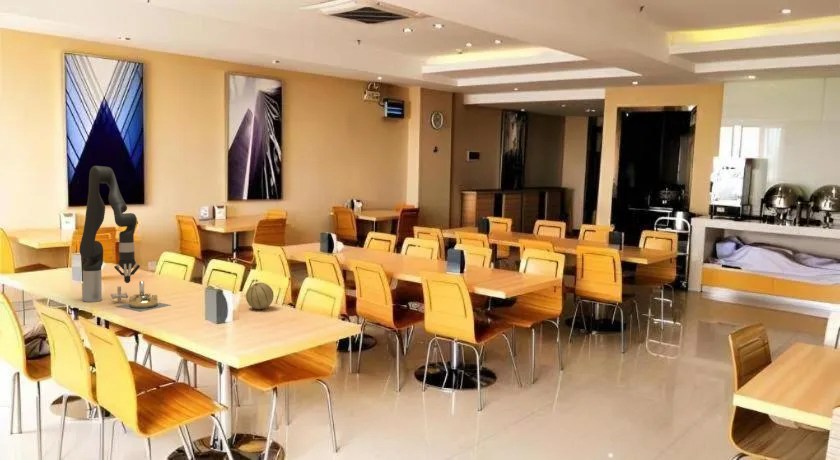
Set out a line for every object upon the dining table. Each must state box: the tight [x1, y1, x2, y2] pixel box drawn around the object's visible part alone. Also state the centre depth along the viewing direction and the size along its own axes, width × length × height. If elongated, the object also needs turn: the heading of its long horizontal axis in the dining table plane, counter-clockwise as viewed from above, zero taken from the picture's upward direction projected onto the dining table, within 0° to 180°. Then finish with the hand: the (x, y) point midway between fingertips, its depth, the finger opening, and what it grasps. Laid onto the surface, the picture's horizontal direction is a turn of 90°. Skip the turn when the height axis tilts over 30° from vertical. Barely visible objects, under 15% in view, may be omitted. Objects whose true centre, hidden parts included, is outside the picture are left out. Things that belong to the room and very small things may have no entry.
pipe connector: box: [110, 285, 129, 303], centre depth 355 cm, size 10×10×10 cm
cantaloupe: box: [245, 282, 275, 310], centre depth 358 cm, size 15×15×15 cm
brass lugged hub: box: [128, 280, 159, 308], centre depth 349 cm, size 14×14×12 cm
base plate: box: [114, 301, 172, 313], centre depth 349 cm, size 20×20×2 cm
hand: (127, 282), depth 349 cm, fingers closed
